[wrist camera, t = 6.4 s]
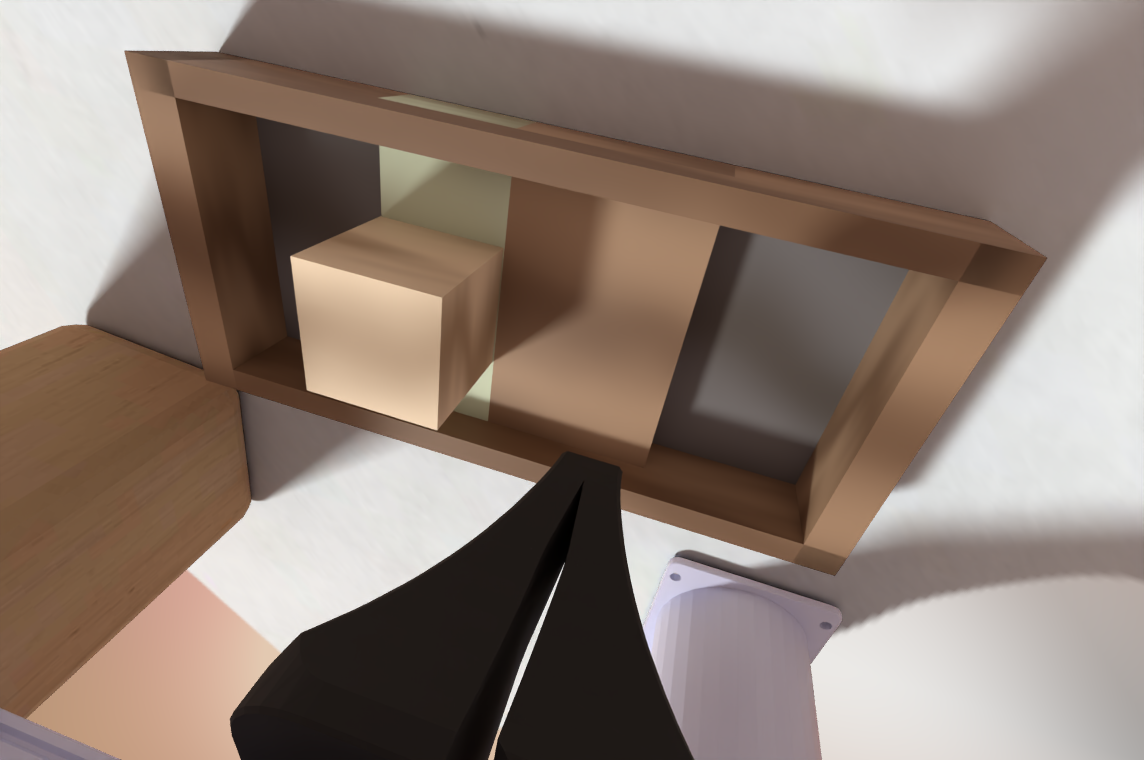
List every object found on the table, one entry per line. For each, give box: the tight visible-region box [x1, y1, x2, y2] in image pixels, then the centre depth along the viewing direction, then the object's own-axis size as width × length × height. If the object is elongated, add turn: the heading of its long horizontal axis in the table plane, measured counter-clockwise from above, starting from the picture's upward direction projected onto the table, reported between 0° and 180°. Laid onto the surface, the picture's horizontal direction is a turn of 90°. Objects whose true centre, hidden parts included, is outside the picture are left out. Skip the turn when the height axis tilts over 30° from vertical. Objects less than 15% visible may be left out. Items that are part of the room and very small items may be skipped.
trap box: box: [125, 51, 1047, 576], centre depth 19 cm, size 12×26×4 cm, turn 80°
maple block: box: [290, 216, 503, 430], centre depth 18 cm, size 4×4×4 cm
